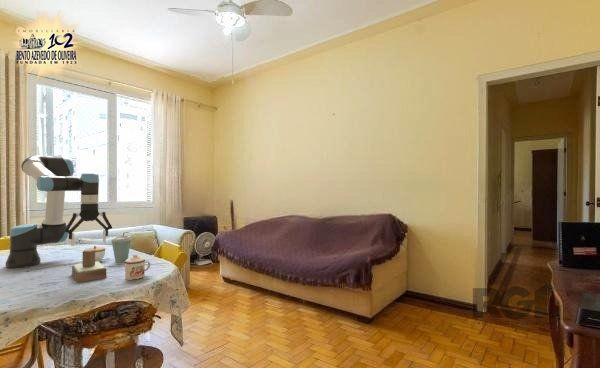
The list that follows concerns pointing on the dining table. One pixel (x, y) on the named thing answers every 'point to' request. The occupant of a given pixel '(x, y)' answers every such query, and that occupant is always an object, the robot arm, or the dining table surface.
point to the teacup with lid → (135, 267)
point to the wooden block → (88, 258)
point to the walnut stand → (88, 272)
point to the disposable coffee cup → (121, 248)
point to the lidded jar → (98, 253)
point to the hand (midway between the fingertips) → (88, 244)
